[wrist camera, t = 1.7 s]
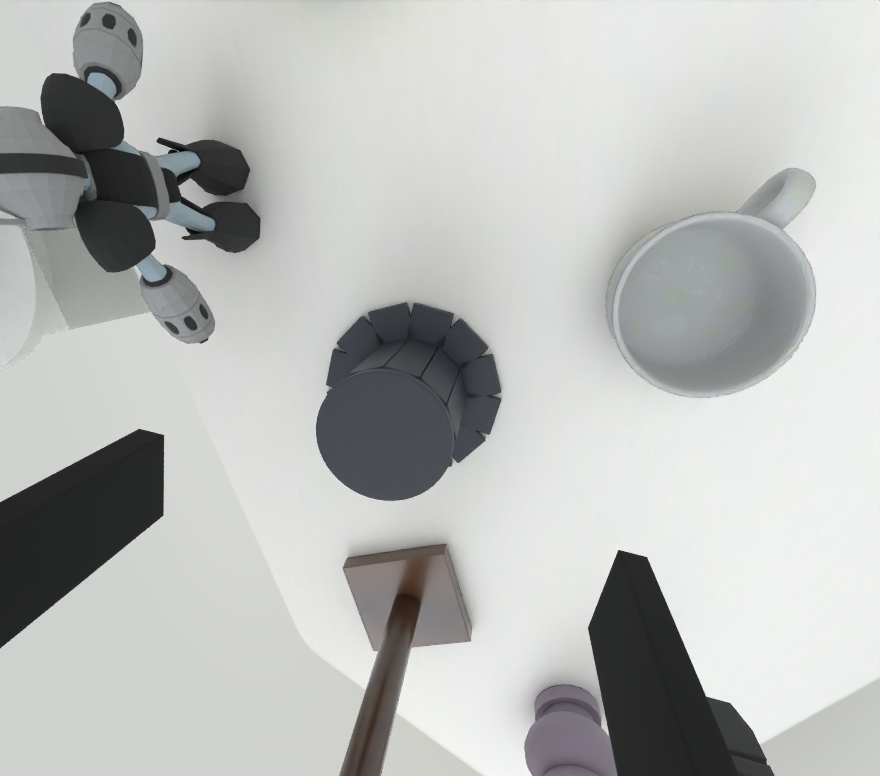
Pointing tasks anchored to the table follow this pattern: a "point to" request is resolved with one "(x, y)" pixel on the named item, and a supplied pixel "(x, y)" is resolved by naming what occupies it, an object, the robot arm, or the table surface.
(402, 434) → the hat
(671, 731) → the robot arm
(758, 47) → the table surface
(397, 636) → the stand
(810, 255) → the table surface
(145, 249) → the robot
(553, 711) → the cat figurine
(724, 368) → the teacup
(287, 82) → the table surface
